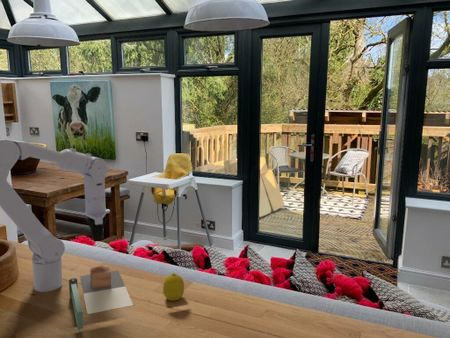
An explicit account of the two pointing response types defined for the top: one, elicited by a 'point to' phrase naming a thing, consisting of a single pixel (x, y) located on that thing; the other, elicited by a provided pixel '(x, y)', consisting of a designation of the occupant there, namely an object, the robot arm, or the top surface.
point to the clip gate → (77, 306)
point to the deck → (105, 294)
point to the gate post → (71, 281)
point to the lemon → (173, 287)
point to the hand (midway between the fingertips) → (97, 240)
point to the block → (100, 276)
